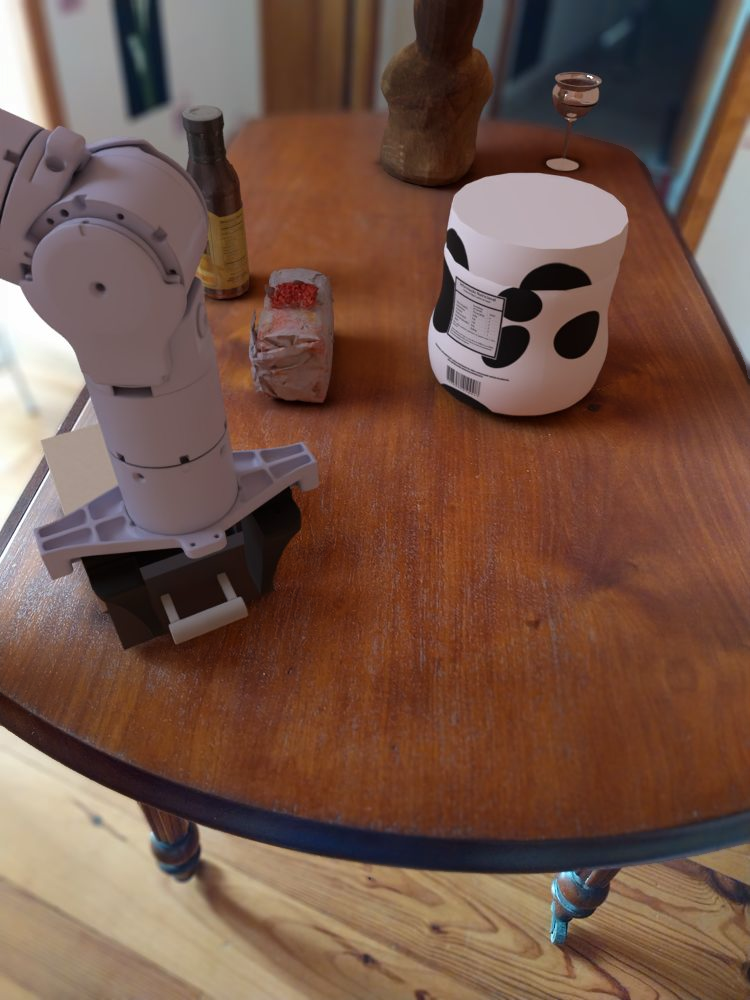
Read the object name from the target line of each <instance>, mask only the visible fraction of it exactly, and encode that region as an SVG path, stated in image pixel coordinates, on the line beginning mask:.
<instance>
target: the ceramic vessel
mask: <svg viewBox="0 0 750 1000" xmlns="http://www.w3.org/2000/svg"><path fill="white" fill-rule="evenodd" d="M412 7H413V8H412V9H413V10H412V11H413V12H412V13H413V22H414V23H413V24H414V29H415V40H414V41H413V42H411V43H409V44H407V45H406V46H403V47H402V48H400V49H399V50H398V51H396V52H395V53H394V54H393V55H392V57H390V59H389V61H388V62H387V65H386V67H385V68H384V70H383V73H382V74H381V78H380V90H381V93H382V96H383V98H384V99H385V101H386V104H387V108H388V109H387V110H388V116H387V117H388V118H387V120H386V123H385V127H384V129H383V133H382V138H381V143H380V148H379V149H380V150H379V155H380V156H379V157H380V163H381V165H382V167H383V169H384V171H385V173H387V174H388V175H389V176H392V177H393V178H395V179H398V180H401V181H403V182H407V183H411V184H415V185H420V186H426V187H427V186H428V187H438V186H447V185H451V184H454V183H456V182H457V181H458V182H459V181H460V180H461V179H462V178H463V177H465V176H466V175H467V174H468V173H469V171H470V169H471V166H472V164H473V162H474V160H475V157H476V153H477V138H478V129H479V123H480V118H481V115H482V113H483V110H484V108H485V107H486V105H487V103H488V102H489V101H490V99H491V98H492V97H491V96H492V95H493V92H494V87H495V84H494V76H493V72H492V70H491V66H490V64H489V62H488V59H487V58H486V55H485V54H484V53H483V52H482V51H481V50H480V49H479V48H476V47H474V46H473V45H474V38H475V36H476V33H477V30H478V29H479V25H480V22H481V18H482V16H483V10H484V0H413V5H412Z"/></svg>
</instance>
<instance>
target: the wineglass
mask: <svg viewBox="0 0 750 1000" xmlns="http://www.w3.org/2000/svg"><path fill="white" fill-rule="evenodd" d="M554 80H555V83H556V84H555V85H554V87H553V89H552V92H551V102H552V105H553V107H554V108H555V110H556V112H557V113H558V114H559V115H560V116H562V117H564V119H565V121H566V122H567V124H566V131H565V137H564V145H563V152H562V157H555V158H554V157H553V158H551V159H548V160H547V161H546V166H547V167H549V168H551V169H552V170H557V171H564V172H565V171H575V170H577V169H578V168H579V165H580V164H579V163H578V162H576V161H575V160H573V159H570V158H566V155H567V150H568V145H569V141H570V137H571V133H572V128H573V124H574V122H576V121H577V119H579V118H583V117H585V116H586V115H587V114H589V113H590V112H592V111H593V110H594V109H595V107H596V105H598V103H599V102H598V101H599V97H600V91H599V86H600V85H601V83H602V79H601V78H600V77H599V76H597V75H594V74H591V73H586V72H581V71H580V72H578V71H569V72H567V71H566V72H562V73H558V74H557V75H555V77H554Z"/></svg>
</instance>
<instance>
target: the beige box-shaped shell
mask: <svg viewBox="0 0 750 1000" xmlns="http://www.w3.org/2000/svg"><path fill="white" fill-rule="evenodd" d="M39 443H40V445H41V448H42V452H43V454H44V457H45V461H46V464H47V467H48V469H49V473H50V475H51V478H52V479H51V480H52V482H53V485H54V488H55V491H56V494H57V497H58V500H59V503H60V504H59V505H60V506H61V510H62V512H63V517H64V516H66V515H68V514H69V513H71V512H73V511H75V510H76V509H78V508H80V507H81V506H83V505H85V504H86V503H88V502H90V501H91V500H93V499H95V498H96V497H98V496H100V495H101V494H103V493H105V492H106V491H108V490H110V489H111V488H113V487H115V486H116V485H118V482H117V479H116V476H115V473H114V470H113V467H112V464H111V460H110V457H109V454H108V451H107V448H106V445H105V441H104V438H103V435H102V432H101V428H100V425H99V422H97V423H96V424H91V425H89V426H85V427H81V428H78V429H75V430H74V429H73V430H70V431H67V432H64V433H61V434H57V435H54V436H50V437H47V438H43V439H40V440H39ZM80 562H81V566H82V567H83V569H84V572H85V575H86V576H87V573H86V570H85V568H84V565H83V563H82V560H81V561H80ZM87 579H88V580H89V578H88V576H87ZM94 596H95V598H96V601H97V603H98V606H99V608H100V610H101V612H102V613H106V612H108V609H107V607H106V604H105V602H103V601H102V600H101V599H100V598H99V597H98V596H97V595H96V594H95V593H94Z"/></svg>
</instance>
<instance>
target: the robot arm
mask: <svg viewBox="0 0 750 1000" xmlns="http://www.w3.org/2000/svg"><path fill="white" fill-rule="evenodd" d="M208 231H209V216H208V210H207V206H206V203H205V200H204V197H203V195H202V193H201V191H200V189H199V187H198V186H197V184H196V183H195V181H194V180H193V178H192V177H191V176H190V175H189V174H188V172H187V171H186V169H185V168H184V167H183V166H182V165H181V164H180V163H178V162H177V161H176V160H175V159H173V158H172V157H170V156H169V155H168V154H165V153H164V152H162V151H159V150H158V149H157V148H156V147H155V146H154V145H153V144H151V143H150V142H149V141H148V140H146V139H143V138H141V137H140V138H139V137H133V136H114V137H113V136H112V137H107V138H103V139H101V140H98V141H94V142H87V141H86V139H85V137H84V136H83V135H82V134H80V133H77V132H75V131H73V130H70V129H69V128H66V127H64V126H63V125H57V127H55V129H53V131H52V130H49V129H46V128H45V127H43V126H41V125H39V124H36V123H34V122H32V121H30V120H27V119H25V118H23V117H21V116H19V115H16V114H14V113H12V112H9V111H8V110H5V109H3V108H0V280H3V281H5V282H6V283H10V284H12V285H15V286H18V287H20V290H21V292H22V294H23V296H24V297H25V300H26V301H27V302H28V304H29V306H30V307H31V308H32V309H33V311H34V312H35V313H36V315H37V316H38V317H39V318H40V319H41V320H42V321H43V322H44V323H45V324H46V325H47V326H48V327H50V328H51V329H52V330H53V331H54V332H56V333H57V334H59V335H60V336H61V337H62V338H63V339H64V340H65V341H66V342H67V343H68V344H69V345H70V347H71V349H72V350H73V352H74V354H75V356H76V357H75V358H76V359H77V363H78V365H79V369H80V372H81V374H82V376H83V379H84V382H85V385H86V389H87V390H88V394H89V396H90V400H91V403H92V407H93V410H94V413H95V416H96V419H97V423H99V425H100V428H101V432H102V435H103V438H104V441H105V445H106V448H107V451H108V454H109V457H110V460H111V464H112V467H113V470H114V473H115V476H116V479H117V482H118V485H116V486H115V487H113V488H111V489H110V490H108V491H106V492H105V493H103V494H101V495H100V496H98V497H96V498H95V499H93V500H91V501H90V502H88V503H86V504H85V505H83V506H81V507H80V508H78V509H76V510H75V511H73V512H71V513H69V514H68V515H66V516H64V515H63V516H62V517H60V518H58V519H56V520H53V521H51V522H50V523H47V524H44V525H41V526H38V527H35V528H33V531H32V532H33V534H34V538H35V541H36V545H37V548H38V552H39V556H40V557H41V560H42V562H43V564H44V566H45V568H46V570H47V572H48V574H49V577H50V579H51V580H52V581H55V580H58V579H61V578H65V577H67V576H69V575H71V574H72V573H73V572H74V566H73V564H75V563H78V562H81V560H82V562H81V564H82V563H83V565H84V567H83V569H84V568H85V569H84V571H85V570H86V572H85V574H86V573H87V574H86V576H88V577H87V579H88V578H89V579H88V582H89V585H90V587H91V590H92V591H93V593H94V595H95V594H96V595H97V596H98V597H99V598H100V599H101V600H102V601H103V602H105V603H111V604H114V605H116V606H119V607H121V608H123V609H125V610H126V611H128V612H129V613H131V614H132V615H134V616H135V617H136V618H137V619H138V620H139V621H140V622H142V623H143V624H144V625H145V627H146V628H147V629H148V630H149V632H150V633H151V635H152V636H153V637H156V636H158V635H161V634H163V633H164V630H163V627H162V624H161V621H160V619H159V616H158V614H157V611H156V609H155V606H154V604H153V601H152V599H151V596H150V594H149V592H148V590H147V587H146V584H145V581H144V579H143V576H142V574H141V571H140V568H139V566H138V563H137V561H136V558H135V555H134V553H133V552H135V551H146V550H157V549H168V548H178V547H179V548H182V549H183V550H184V552H185V554H186V555H187V556H188V557H189V558H192V559H195V558H200V557H203V556H205V555H208V554H211V553H214V552H216V551H219V550H221V549H223V548H224V547H225V546H226V544H227V540H226V535H225V531H226V530H227V529H228V528H230V527H231V526H233V525H234V524H235V523H237V522H238V521H240V520H241V524H242V529H243V537H244V547H245V556H246V562H247V566H248V570H249V573H250V575H251V577H252V579H253V581H254V582H255V584H256V586H257V588H258V590H259V592H260V594H261V595H263V594H265V593H268V592H270V591H271V588H272V583H273V581H274V578H275V574H276V572H277V568H278V566H279V562H280V560H281V558H282V556H283V553H284V551H285V550H286V548H287V546H288V545H289V543H290V542H291V541H292V539H293V538H294V537H295V536H296V535H297V534H298V533H299V532H300V531H301V530H302V522H303V521H302V511H301V509H300V507H299V505H298V504H297V502H296V501H295V499H294V497H293V490H292V488H295V487H297V489H298V490H299V491H300V492H308V491H311V490H315V489H317V488H319V487H320V478H319V477H320V476H319V462H318V460H317V458H316V457H315V456H314V454H313V453H312V451H311V450H310V448H309V447H308V446H307V444H306V443H305V442H304V441H299V442H296V443H291V444H288V445H282V446H277V447H268V448H259V449H258V448H256V449H255V448H254V449H244V450H233V448H232V442H231V436H230V430H229V423H228V418H227V417H228V416H227V412H226V411H227V410H226V406H225V405H226V404H225V399H224V393H223V387H222V381H221V373H220V368H219V363H218V357H217V351H216V345H215V338H214V335H213V333H212V330H211V327H210V321H209V316H208V309H207V304H206V299H205V298H206V297H205V294H204V291H203V285H202V281H201V279H200V278H198V277H196V271H197V268H198V266H199V263H200V261H201V258H202V256H203V253H204V250H205V247H206V243H207V236H208ZM83 565H82V566H83Z"/></svg>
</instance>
